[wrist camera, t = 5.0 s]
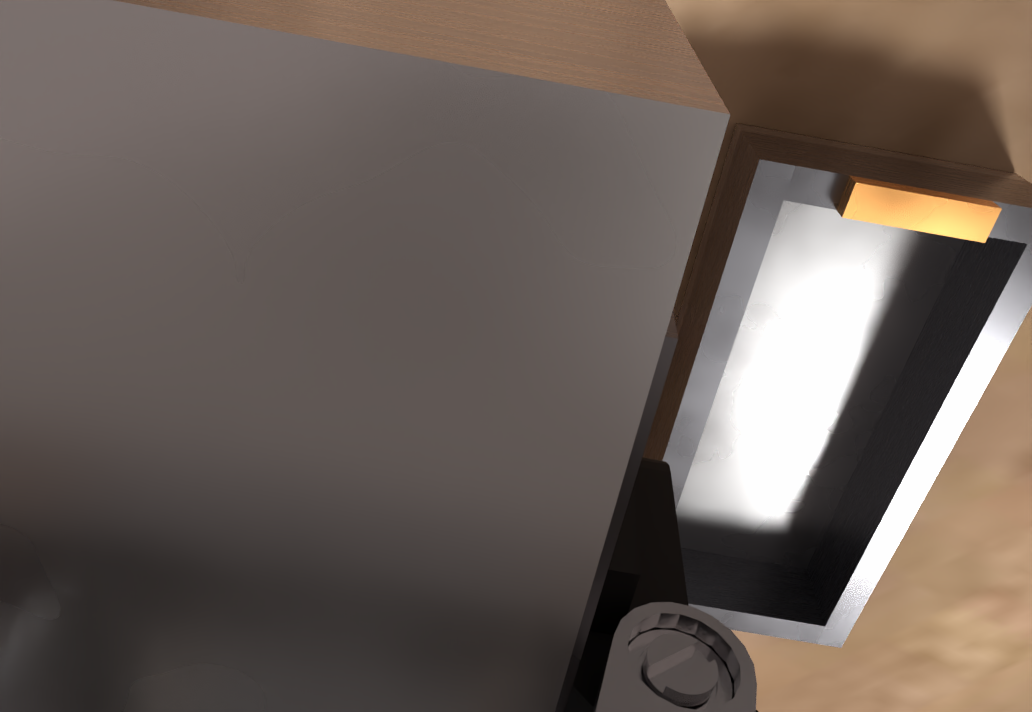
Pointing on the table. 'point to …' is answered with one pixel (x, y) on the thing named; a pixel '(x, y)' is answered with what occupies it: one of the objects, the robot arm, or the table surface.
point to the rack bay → (829, 367)
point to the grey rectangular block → (330, 342)
